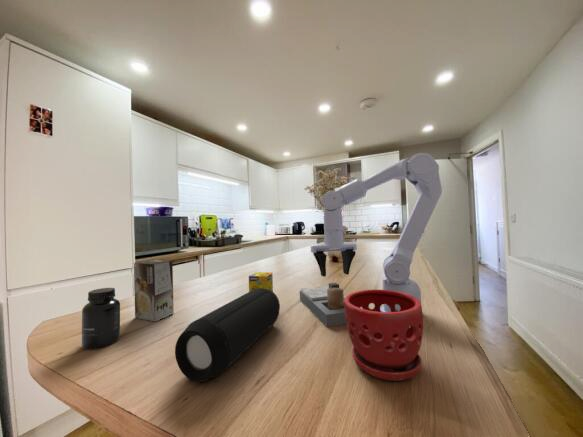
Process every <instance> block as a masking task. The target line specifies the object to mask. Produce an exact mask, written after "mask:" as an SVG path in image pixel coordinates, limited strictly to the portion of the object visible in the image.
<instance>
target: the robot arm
mask: <svg viewBox="0 0 583 437" xmlns="http://www.w3.org/2000/svg"><path fill="white" fill-rule="evenodd" d="M440 177H441V176H440V166H439V164H438V162H437V161H436V160H435V158H434V157H433V156H432V155H431V154H429V153H427V152H419V153H418V152H417V153H416V154H413V155H412V156H411V157H406V158H403V159H401V160H399V161H397V162H395V163H393V164H391V165H390V166H388V167H385V168H384V169H382V170H380V171H378V172H376V173H375V174H373V175H371V176H368V177H367V178H365V179H363V180H361V179H358V178H356V179H353V178H352V179H349V180H348V182H347V183H345V184H344V185H342V186H340V187H335V188H334V189H333V190H332V189H331V190H328V191H327V192H325V193H324V194H323V195H322V197H321V206H323V230H324V234H323V236H324V244H318V245H311V246H310V252H311V253H312V254H313V256H314V259H315V261H316V263H317V265H318V268H319V270H320V275H321V276H322V277H323V278H324V277H326V276H327V268H326V267H327V254H326V253H328V252H329V253H330V252H340V254H341V257H342V258H341V259H342V271H343V274H345V275H349V274H350V271H351V270H350V269H351V264H352V263H353V260H354V258H355V256H356V251H357V250H358V249H357V243H344V226H343V225H344V224H343V213H342V211H343V210H342V208H343V206H347V205H350V204H351V203H354V202H357V201H358V200H360V199H362V198H364V197H366V195H367V193H368V191H369V190H371V189H374V188H376V187H378V186H381V185H382V184H385V183H388V182H390V181H392V180H398V181H404V180H407V181H408V182H409V183H410V184H412V185H413V186H414V188H415V190H416V191H417V192H418V197H417V199H416V201H415V203H414V205H413V208H412V210H411V212H410V215H409V217H408V218H407V220H406V223H405V225H404V227H403V229H402V232H401V233H400V235H399V239H398V240H397V243H396V245H395V246H394V248H393V249H392V251H391V254H390V255H389V256H387V257H386V258H385V259H384V261H383V263H382V264H383V267H382V268H383V273H384V277H382V290H391V291H397V292H402V293H405V294H409V295H411V296H413V297H415V298H417V299H418V300H419V301H420V303H421V304H422V293H421V288H420V286H419V284H418V283H417V282H416V281H415V280H412V279H410V278H409V277H410V276H411V264H412V262H413V257H414V253H415V250H416V248H417V246H418V244H419V242H420V241H421V238H422V236H423V234H424V232H425V230H426V227H427V225H428V223H429V221H430V219H431V216H433V215H432V214H433V213H434V211H435V208H436V207H437V204H438V202H439V199H440V197H441V195H442V192H443V187H442V184H441V178H440ZM382 305H383V306H380V310H381V312H391V309H390V307H389V306H388V305H386V304H382ZM395 309H396V310H397V311H400V309H401V308H400V306H399V305H398V304H396V305H395ZM422 313H423V316H424V315H425V313H424V312H422Z"/></svg>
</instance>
